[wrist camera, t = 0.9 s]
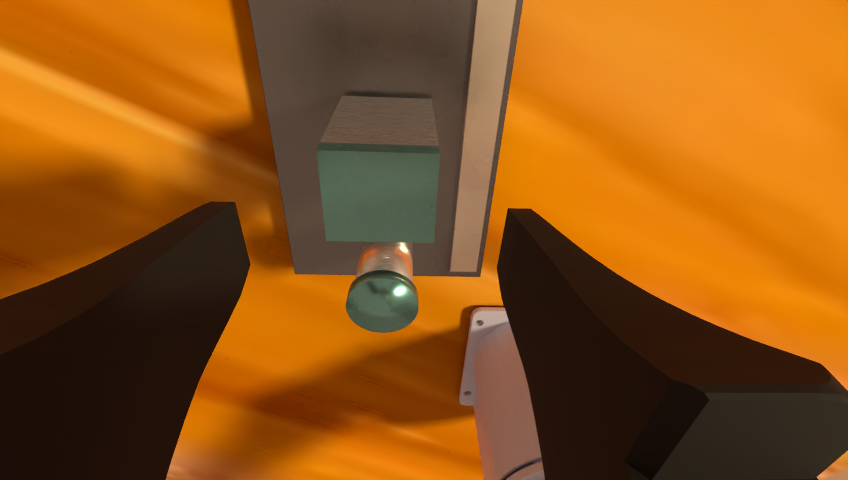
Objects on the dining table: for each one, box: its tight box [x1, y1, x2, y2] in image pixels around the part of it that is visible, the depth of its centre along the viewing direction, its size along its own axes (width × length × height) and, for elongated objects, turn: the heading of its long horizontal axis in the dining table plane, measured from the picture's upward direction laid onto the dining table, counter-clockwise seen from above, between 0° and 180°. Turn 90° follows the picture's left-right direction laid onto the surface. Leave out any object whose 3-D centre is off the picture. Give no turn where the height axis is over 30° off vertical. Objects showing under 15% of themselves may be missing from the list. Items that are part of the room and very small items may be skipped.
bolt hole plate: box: [248, 0, 523, 277], centre depth 18 cm, size 18×10×1 cm, turn 178°
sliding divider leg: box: [316, 96, 440, 243], centre depth 15 cm, size 3×4×6 cm
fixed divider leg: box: [346, 242, 418, 333], centre depth 18 cm, size 3×3×6 cm
